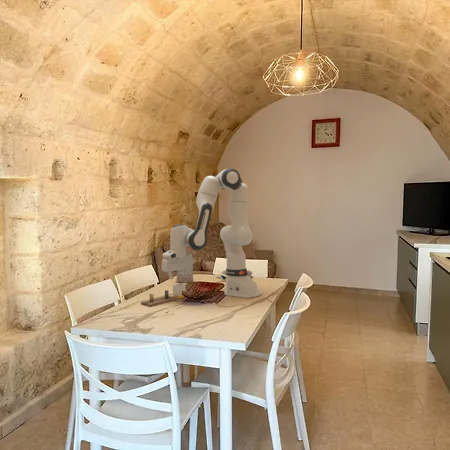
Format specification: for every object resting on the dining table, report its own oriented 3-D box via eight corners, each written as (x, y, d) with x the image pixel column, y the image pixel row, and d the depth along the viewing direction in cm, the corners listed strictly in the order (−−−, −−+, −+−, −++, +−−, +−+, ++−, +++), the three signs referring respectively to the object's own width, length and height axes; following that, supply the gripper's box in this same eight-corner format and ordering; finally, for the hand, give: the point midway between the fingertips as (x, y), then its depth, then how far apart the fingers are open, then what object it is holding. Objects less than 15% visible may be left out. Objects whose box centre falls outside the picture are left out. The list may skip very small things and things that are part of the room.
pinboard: (177, 299, 219) (176, 290, 219) (150, 306, 206) (149, 296, 206) (168, 297, 225) (167, 288, 225) (141, 304, 212) (140, 294, 212)
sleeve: (185, 296, 226) (185, 284, 225) (178, 298, 222) (178, 286, 222) (180, 295, 229) (179, 283, 229) (173, 297, 226) (172, 284, 225)
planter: (196, 280, 268) (196, 266, 268) (186, 284, 259) (186, 269, 259) (183, 279, 274) (183, 265, 274) (173, 282, 265) (172, 267, 264)
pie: (230, 272, 296) (230, 266, 296) (264, 276, 282) (264, 269, 282) (209, 280, 272) (209, 272, 272) (245, 284, 258) (245, 277, 258)
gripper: (188, 251, 234) (188, 274, 235) (159, 254, 219) (159, 279, 220) (195, 252, 229) (195, 276, 230) (167, 255, 215) (167, 281, 215)
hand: (177, 278), depth 225 cm, fingers open, 8 cm apart
